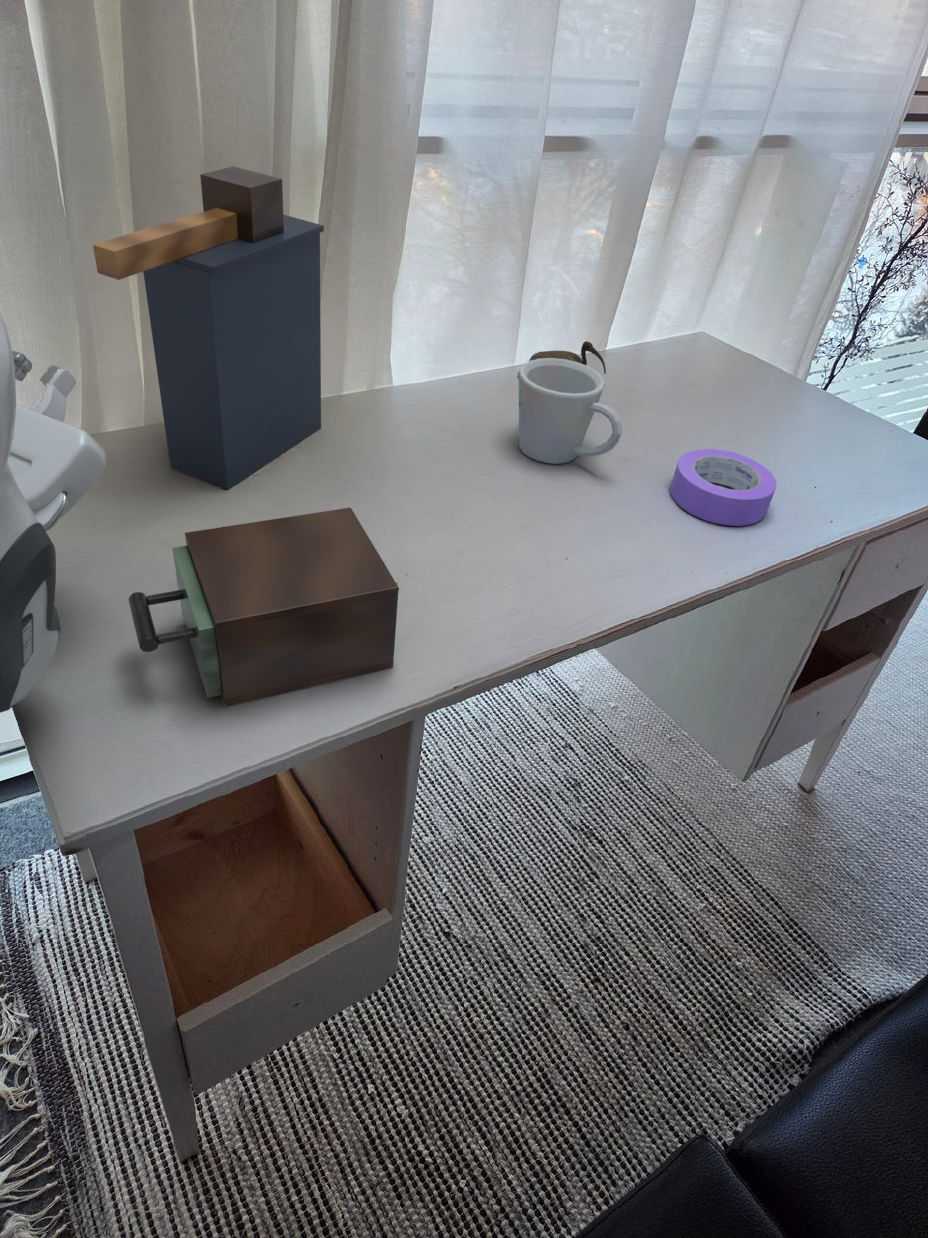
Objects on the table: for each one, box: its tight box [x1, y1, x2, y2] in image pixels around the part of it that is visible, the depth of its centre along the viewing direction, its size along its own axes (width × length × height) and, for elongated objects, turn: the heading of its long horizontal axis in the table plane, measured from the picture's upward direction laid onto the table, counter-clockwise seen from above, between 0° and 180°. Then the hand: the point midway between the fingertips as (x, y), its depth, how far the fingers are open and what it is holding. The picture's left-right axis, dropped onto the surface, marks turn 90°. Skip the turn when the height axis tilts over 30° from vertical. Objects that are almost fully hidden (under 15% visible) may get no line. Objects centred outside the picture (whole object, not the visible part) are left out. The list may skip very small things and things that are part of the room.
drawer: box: [128, 545, 222, 698], centre depth 70 cm, size 18×11×7 cm, turn 114°
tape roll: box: [669, 448, 777, 527], centre depth 100 cm, size 12×12×4 cm
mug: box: [518, 358, 623, 465], centre depth 102 cm, size 10×15×10 cm
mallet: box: [92, 166, 284, 281], centre depth 78 cm, size 21×6×5 cm, turn 153°
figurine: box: [517, 340, 607, 378], centre depth 117 cm, size 14×4×9 cm, turn 40°
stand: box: [142, 213, 325, 491], centre depth 92 cm, size 18×9×24 cm, turn 153°
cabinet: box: [184, 507, 400, 708], centre depth 72 cm, size 15×12×9 cm
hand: (43, 364), depth 69 cm, fingers open, 3 cm apart
